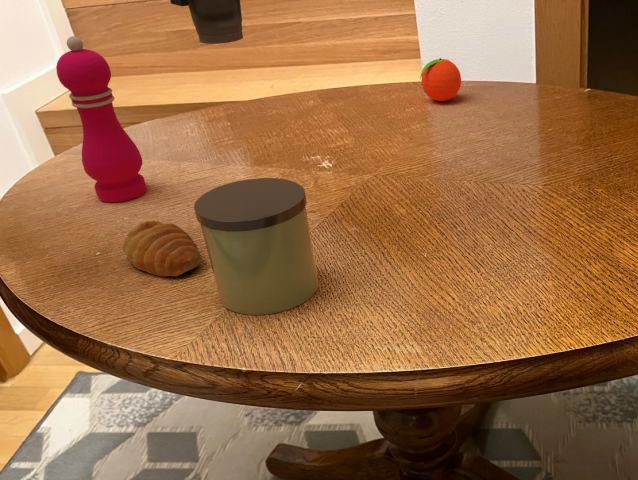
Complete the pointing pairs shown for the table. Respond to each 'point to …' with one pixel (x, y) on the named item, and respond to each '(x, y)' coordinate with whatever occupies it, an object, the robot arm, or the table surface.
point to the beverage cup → (217, 20)
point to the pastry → (161, 249)
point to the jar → (259, 244)
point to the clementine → (441, 79)
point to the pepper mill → (100, 125)
